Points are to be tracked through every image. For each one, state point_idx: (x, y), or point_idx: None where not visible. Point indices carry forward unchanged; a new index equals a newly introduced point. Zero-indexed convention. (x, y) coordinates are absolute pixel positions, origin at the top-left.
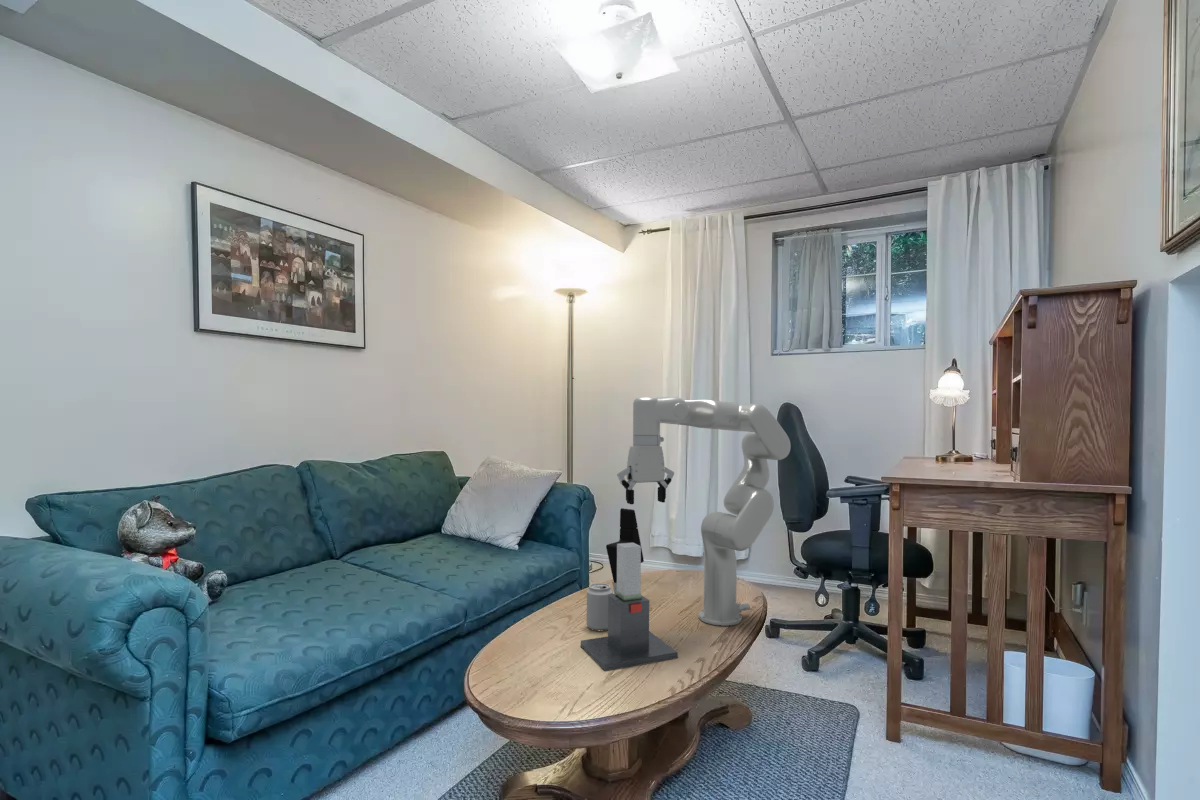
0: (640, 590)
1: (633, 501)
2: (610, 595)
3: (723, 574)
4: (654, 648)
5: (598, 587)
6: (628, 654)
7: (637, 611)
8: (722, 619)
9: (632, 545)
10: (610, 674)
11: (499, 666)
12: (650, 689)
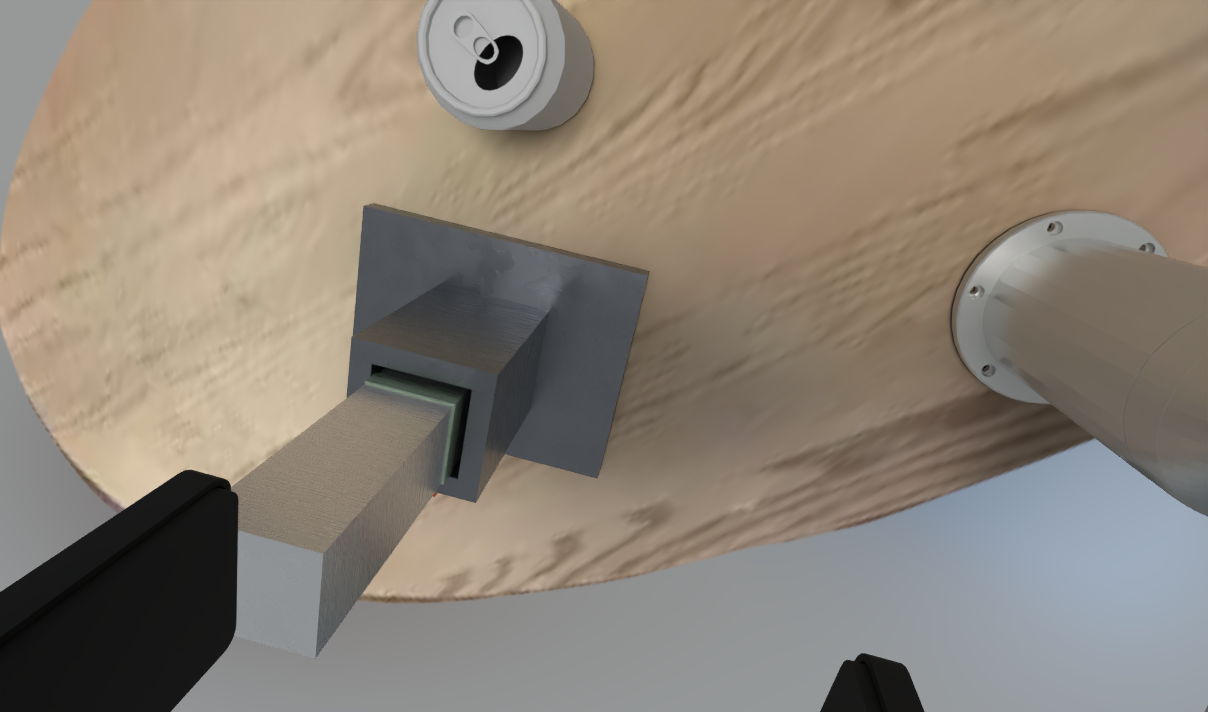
0: (435, 490)
1: (191, 676)
2: (355, 352)
3: (1136, 469)
4: (551, 415)
5: (476, 41)
6: None
7: None
8: (1004, 369)
9: (271, 615)
10: None
11: (81, 188)
12: (408, 550)
